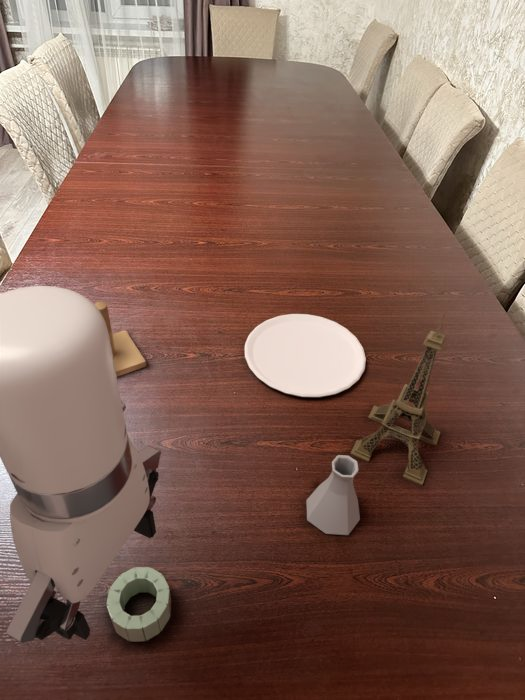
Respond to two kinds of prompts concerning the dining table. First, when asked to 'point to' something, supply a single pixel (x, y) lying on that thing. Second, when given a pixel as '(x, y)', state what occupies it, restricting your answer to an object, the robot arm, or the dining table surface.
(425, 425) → the eiffel tower
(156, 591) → the pale green ring
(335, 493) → the flask
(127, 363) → the stand
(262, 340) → the plate
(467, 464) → the dining table surface
